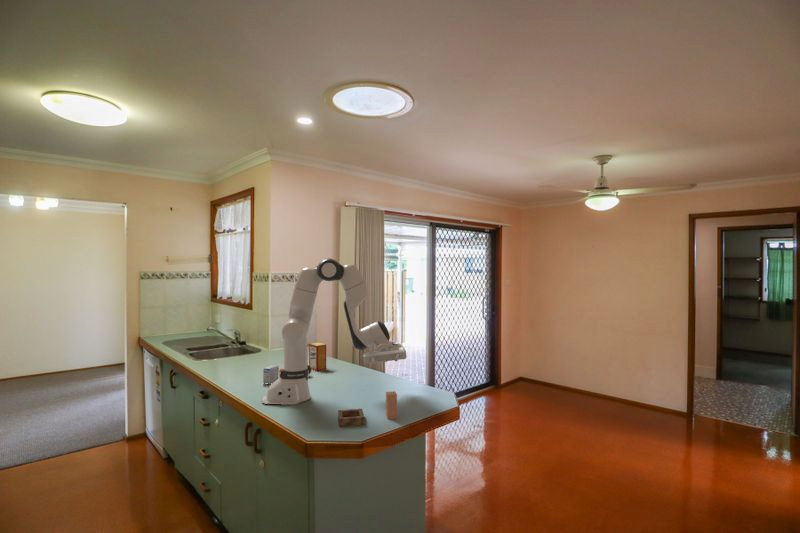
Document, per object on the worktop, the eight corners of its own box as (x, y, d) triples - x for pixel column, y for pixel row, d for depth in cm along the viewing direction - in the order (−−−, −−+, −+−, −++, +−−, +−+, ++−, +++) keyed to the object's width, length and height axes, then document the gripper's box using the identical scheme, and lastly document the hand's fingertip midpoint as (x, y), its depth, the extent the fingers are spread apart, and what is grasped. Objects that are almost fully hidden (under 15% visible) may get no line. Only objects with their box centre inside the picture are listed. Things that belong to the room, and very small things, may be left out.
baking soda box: (309, 368, 244) (309, 343, 244) (318, 366, 248) (318, 341, 249) (317, 371, 237) (317, 345, 237) (326, 369, 242) (326, 343, 242)
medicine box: (271, 380, 218) (271, 365, 218) (278, 381, 216) (278, 365, 216) (263, 384, 210) (263, 368, 210) (270, 385, 209) (270, 368, 209)
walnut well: (339, 426, 153) (339, 419, 153) (338, 417, 162) (338, 410, 162) (364, 424, 155) (364, 417, 155) (361, 415, 164) (361, 408, 164)
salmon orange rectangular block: (387, 419, 160) (387, 394, 161) (385, 415, 164) (385, 392, 165) (396, 418, 161) (396, 394, 161) (395, 414, 165) (395, 391, 165)
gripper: (361, 348, 186) (361, 356, 173) (403, 343, 188) (407, 351, 174) (363, 361, 187) (363, 370, 173) (405, 356, 189) (408, 365, 175)
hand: (385, 360), depth 174 cm, fingers open, 8 cm apart
